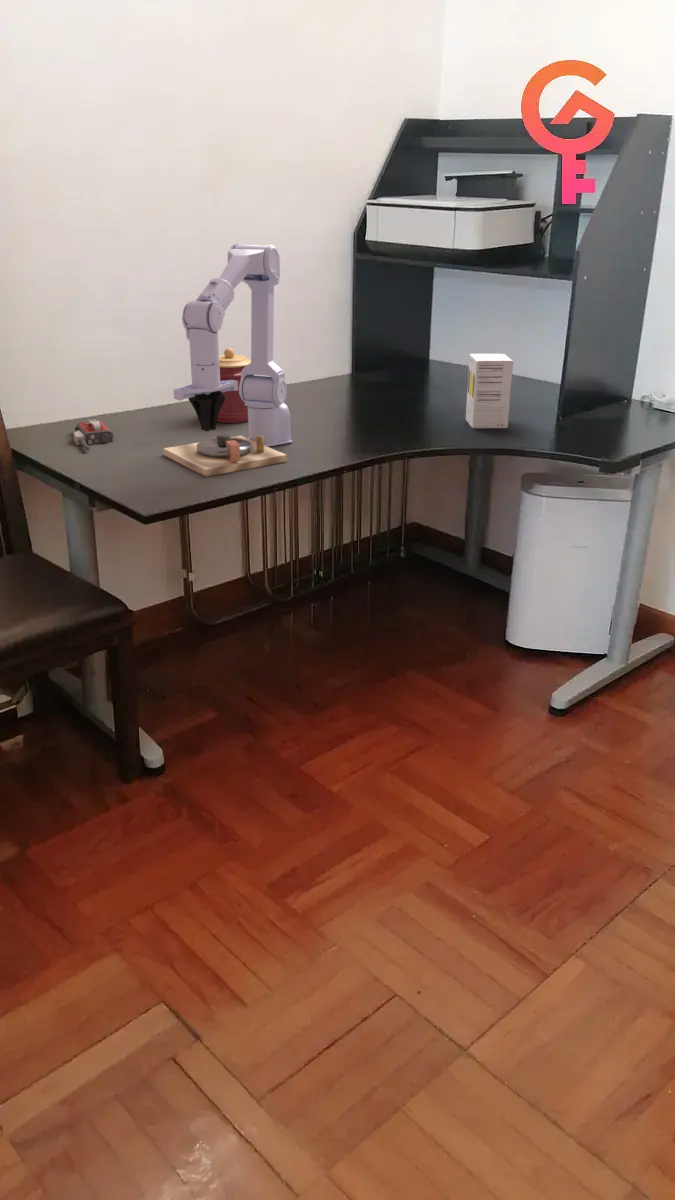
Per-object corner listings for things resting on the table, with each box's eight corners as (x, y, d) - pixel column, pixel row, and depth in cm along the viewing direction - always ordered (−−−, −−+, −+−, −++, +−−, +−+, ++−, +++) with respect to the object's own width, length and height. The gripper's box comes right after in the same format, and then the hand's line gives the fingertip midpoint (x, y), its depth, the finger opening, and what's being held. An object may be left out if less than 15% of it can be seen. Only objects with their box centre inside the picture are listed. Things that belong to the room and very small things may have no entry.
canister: (203, 423, 239) (200, 352, 231) (209, 411, 250) (206, 343, 243) (255, 423, 239) (253, 352, 232) (258, 411, 251) (256, 343, 243)
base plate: (241, 441, 223) (240, 420, 221) (286, 461, 208) (286, 439, 206) (163, 454, 213) (162, 433, 210) (206, 476, 198) (204, 453, 196)
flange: (191, 444, 213) (190, 429, 211) (243, 440, 217) (242, 425, 215) (208, 464, 199) (207, 447, 198) (262, 458, 203) (262, 442, 202)
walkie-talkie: (67, 434, 230) (83, 455, 213) (65, 416, 228) (81, 436, 212) (103, 430, 233) (122, 451, 217) (101, 413, 232) (120, 432, 215)
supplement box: (464, 419, 244) (468, 353, 237) (499, 419, 245) (504, 352, 238) (472, 429, 235) (476, 360, 228) (508, 428, 236) (514, 359, 229)
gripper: (222, 356, 197) (225, 420, 203) (163, 364, 188) (168, 431, 194) (243, 360, 193) (245, 426, 198) (183, 369, 184) (187, 438, 189)
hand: (208, 429), depth 196 cm, fingers closed
